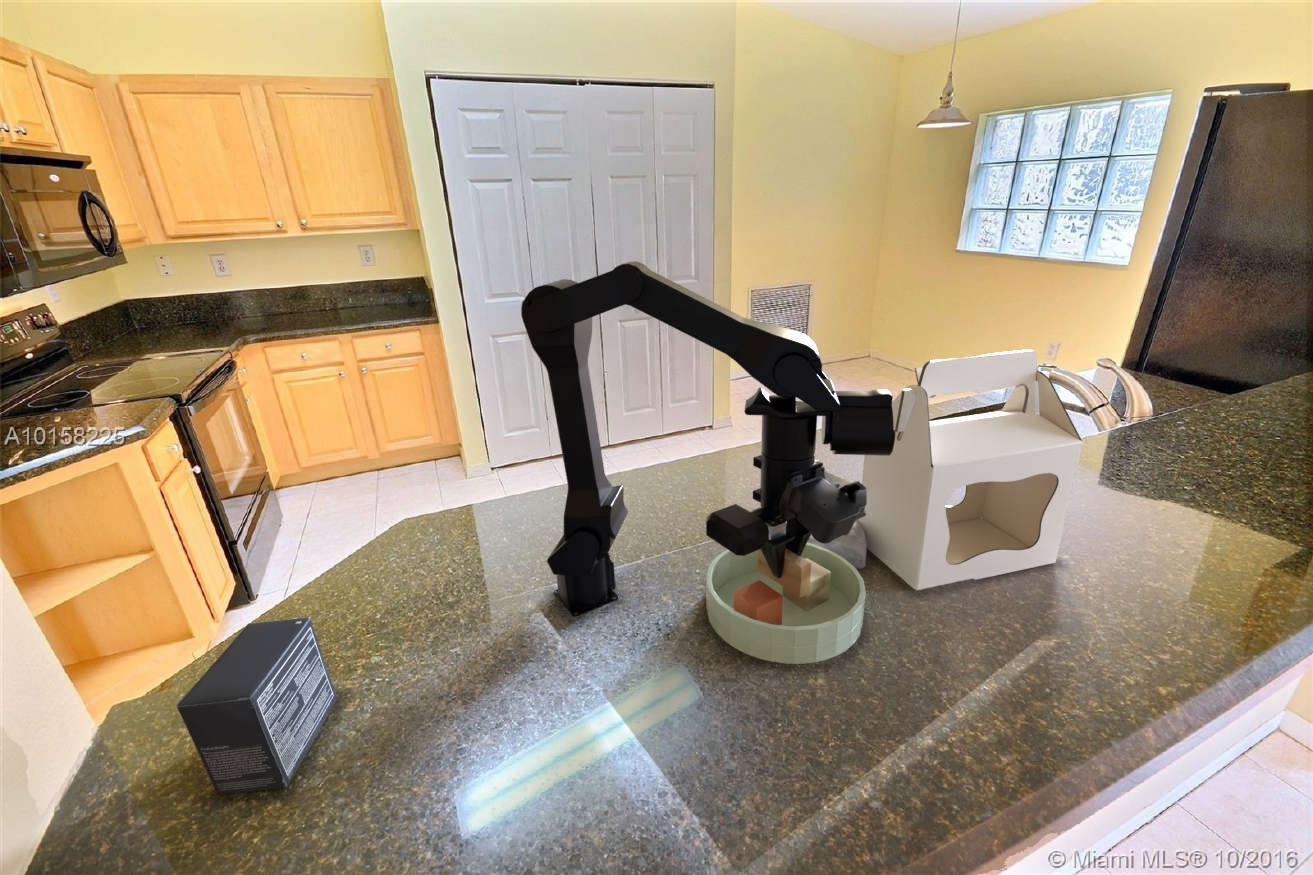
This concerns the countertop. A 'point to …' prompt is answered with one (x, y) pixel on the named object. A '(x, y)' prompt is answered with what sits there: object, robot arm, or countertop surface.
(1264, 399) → the countertop surface
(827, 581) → the cream block
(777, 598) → the terracotta block
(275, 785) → the small box
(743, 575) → the bowl
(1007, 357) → the gable box
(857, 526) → the stone block
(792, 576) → the oak wood brick
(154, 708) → the countertop surface
